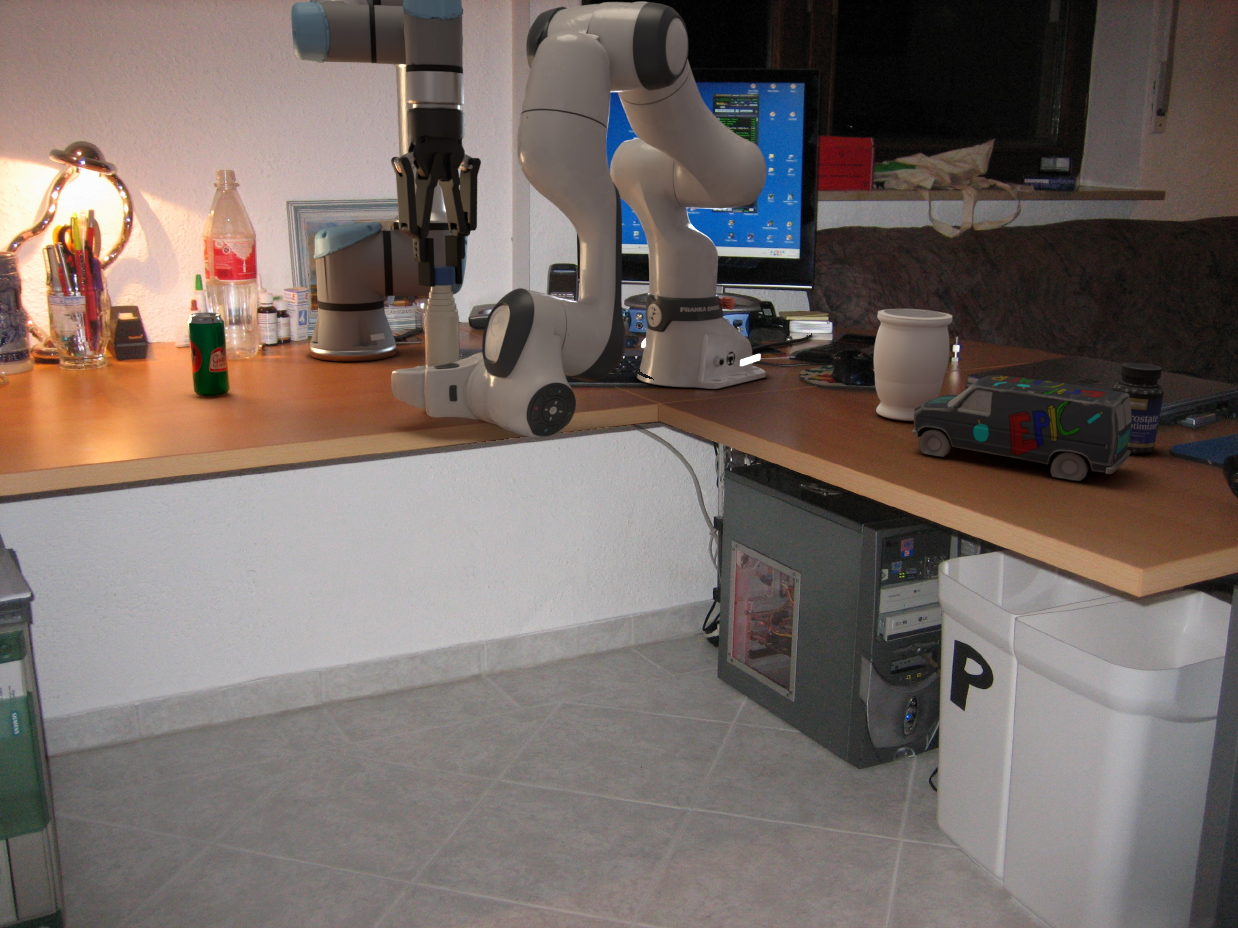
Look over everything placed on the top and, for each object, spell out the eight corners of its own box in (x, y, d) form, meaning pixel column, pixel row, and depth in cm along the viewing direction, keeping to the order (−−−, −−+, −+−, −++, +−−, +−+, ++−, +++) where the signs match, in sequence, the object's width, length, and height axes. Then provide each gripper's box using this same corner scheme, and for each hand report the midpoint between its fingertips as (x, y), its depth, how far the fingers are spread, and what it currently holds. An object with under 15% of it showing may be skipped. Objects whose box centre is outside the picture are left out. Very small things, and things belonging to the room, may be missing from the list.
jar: (854, 409, 159) (862, 309, 155) (910, 404, 163) (920, 306, 159) (898, 426, 150) (909, 320, 146) (957, 420, 154) (969, 317, 150)
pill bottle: (1117, 454, 138) (1130, 370, 135) (1094, 442, 144) (1106, 361, 140) (1163, 454, 138) (1177, 370, 135) (1139, 442, 144) (1152, 361, 141)
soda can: (218, 398, 158) (211, 317, 155) (187, 396, 159) (179, 316, 156) (236, 391, 163) (230, 313, 160) (206, 389, 164) (199, 311, 161)
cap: (447, 281, 151) (447, 265, 151) (460, 284, 148) (460, 267, 147) (420, 283, 149) (420, 266, 148) (433, 286, 146) (433, 269, 145)
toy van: (934, 435, 146) (942, 362, 143) (1130, 468, 132) (1143, 388, 129) (905, 451, 137) (912, 375, 134) (1110, 488, 123) (1124, 404, 121)
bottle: (440, 417, 150) (436, 273, 145) (420, 411, 154) (415, 270, 148) (468, 412, 154) (465, 271, 148) (447, 406, 157) (443, 268, 151)
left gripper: (468, 110, 150) (471, 277, 157) (364, 105, 139) (372, 286, 145) (503, 110, 146) (505, 282, 152) (398, 104, 134) (405, 292, 140)
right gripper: (553, 356, 147) (502, 341, 158) (418, 371, 135) (373, 354, 146) (553, 400, 149) (503, 383, 160) (420, 419, 137) (375, 399, 148)
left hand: (440, 284), depth 149 cm, fingers closed on cap, 4 cm apart
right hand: (439, 369), depth 153 cm, fingers closed on bottle, 5 cm apart
